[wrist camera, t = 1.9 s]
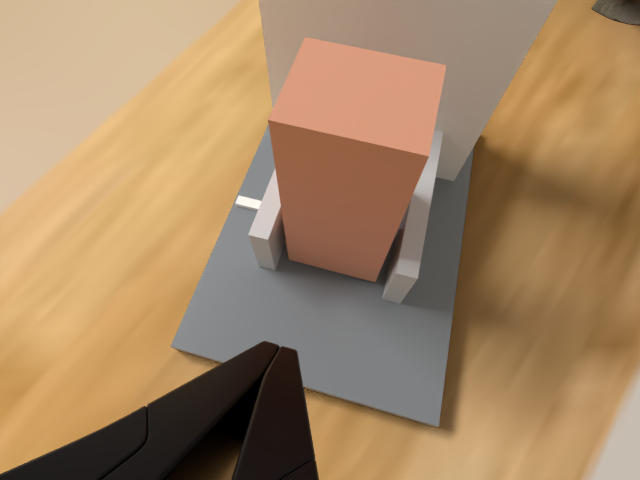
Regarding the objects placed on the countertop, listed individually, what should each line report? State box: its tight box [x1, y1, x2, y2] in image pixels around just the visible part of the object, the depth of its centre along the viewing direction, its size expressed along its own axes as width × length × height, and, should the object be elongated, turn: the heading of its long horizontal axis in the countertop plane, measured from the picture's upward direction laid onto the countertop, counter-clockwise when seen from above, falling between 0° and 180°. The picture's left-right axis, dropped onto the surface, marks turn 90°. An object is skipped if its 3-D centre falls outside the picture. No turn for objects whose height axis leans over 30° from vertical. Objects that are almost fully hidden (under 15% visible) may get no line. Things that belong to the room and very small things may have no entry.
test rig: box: [171, 0, 557, 427], centre depth 18 cm, size 20×14×13 cm
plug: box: [268, 37, 446, 282], centre depth 17 cm, size 4×5×11 cm
